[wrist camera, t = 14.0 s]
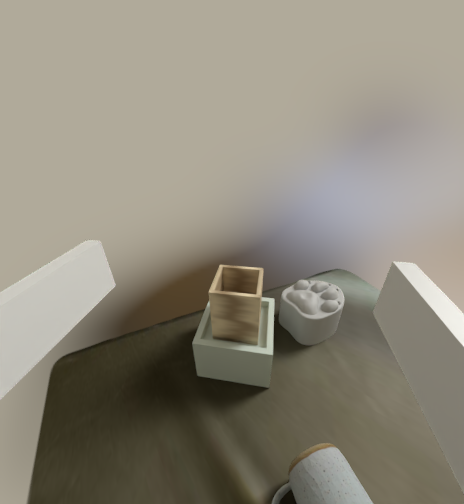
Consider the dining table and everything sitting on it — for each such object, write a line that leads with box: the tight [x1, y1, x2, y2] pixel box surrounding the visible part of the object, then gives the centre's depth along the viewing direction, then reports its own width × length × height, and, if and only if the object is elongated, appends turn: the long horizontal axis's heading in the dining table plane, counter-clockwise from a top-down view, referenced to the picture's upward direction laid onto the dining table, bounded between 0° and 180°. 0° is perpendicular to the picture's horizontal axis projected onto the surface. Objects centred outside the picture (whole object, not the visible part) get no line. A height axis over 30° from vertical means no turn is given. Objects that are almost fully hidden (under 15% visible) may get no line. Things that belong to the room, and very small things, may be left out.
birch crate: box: [209, 265, 263, 345], centre depth 38 cm, size 8×8×10 cm
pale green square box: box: [192, 297, 274, 388], centre depth 42 cm, size 13×13×8 cm
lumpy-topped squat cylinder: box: [279, 280, 344, 345], centre depth 48 cm, size 10×13×9 cm
